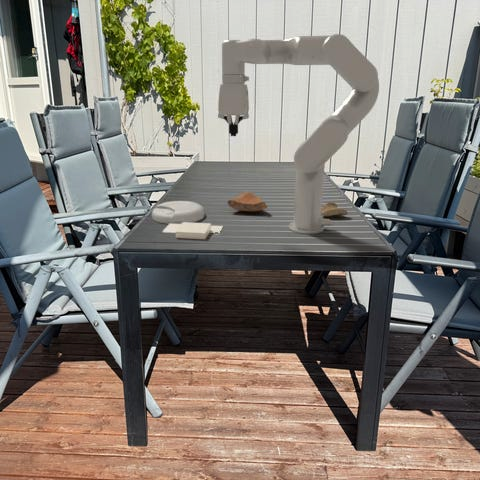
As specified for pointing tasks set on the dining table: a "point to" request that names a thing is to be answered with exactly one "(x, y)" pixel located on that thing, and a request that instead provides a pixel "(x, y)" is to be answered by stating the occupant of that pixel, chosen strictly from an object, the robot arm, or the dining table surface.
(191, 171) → the dining table surface
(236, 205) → the ceramic shard
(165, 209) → the round ceiling alarm
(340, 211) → the pottery shard
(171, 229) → the mat
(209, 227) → the glazed tile
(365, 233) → the dining table surface
